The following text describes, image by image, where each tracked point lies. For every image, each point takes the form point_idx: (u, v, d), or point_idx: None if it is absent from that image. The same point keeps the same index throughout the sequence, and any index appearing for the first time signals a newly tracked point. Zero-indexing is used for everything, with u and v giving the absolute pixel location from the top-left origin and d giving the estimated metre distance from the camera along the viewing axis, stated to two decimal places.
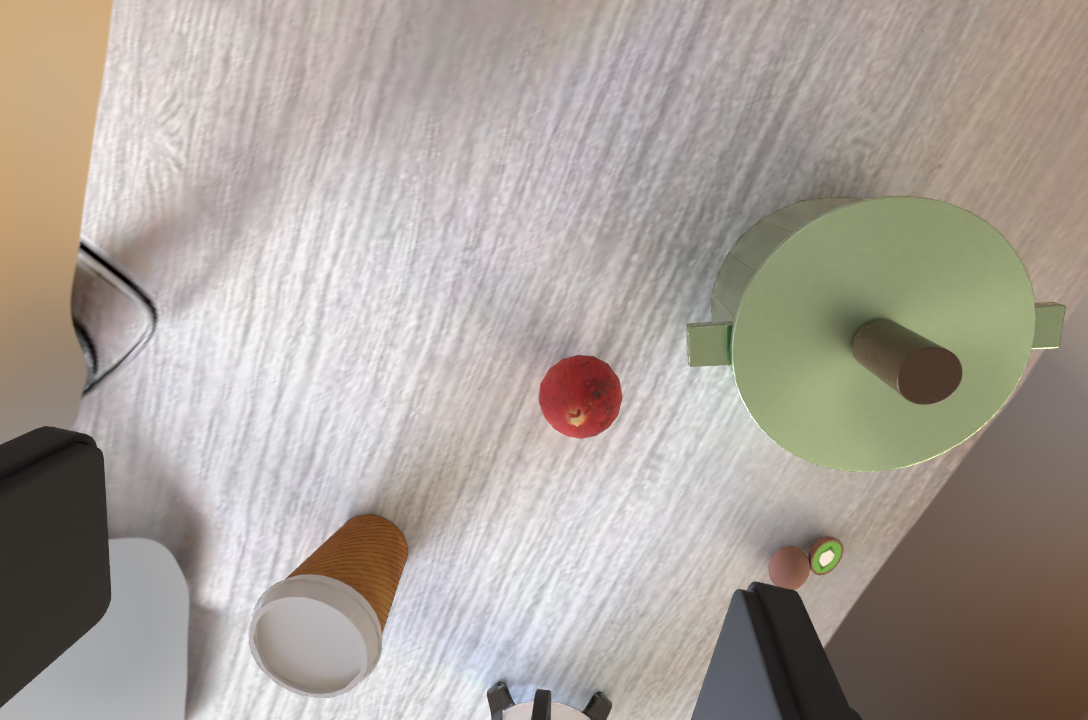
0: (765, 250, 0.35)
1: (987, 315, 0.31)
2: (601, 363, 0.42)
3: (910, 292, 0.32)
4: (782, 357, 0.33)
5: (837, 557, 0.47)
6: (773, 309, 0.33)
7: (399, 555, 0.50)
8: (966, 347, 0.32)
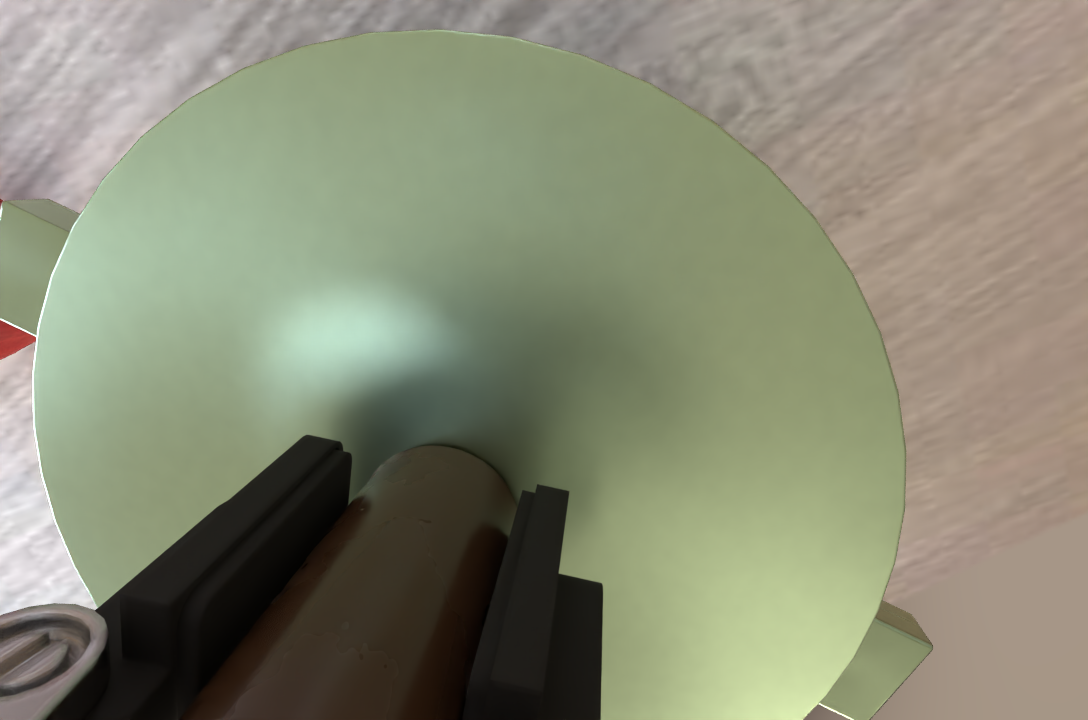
0: None
1: (743, 590, 0.10)
2: None
3: (580, 423, 0.10)
4: (175, 416, 0.11)
5: None
6: (184, 262, 0.10)
7: None
8: (652, 638, 0.11)
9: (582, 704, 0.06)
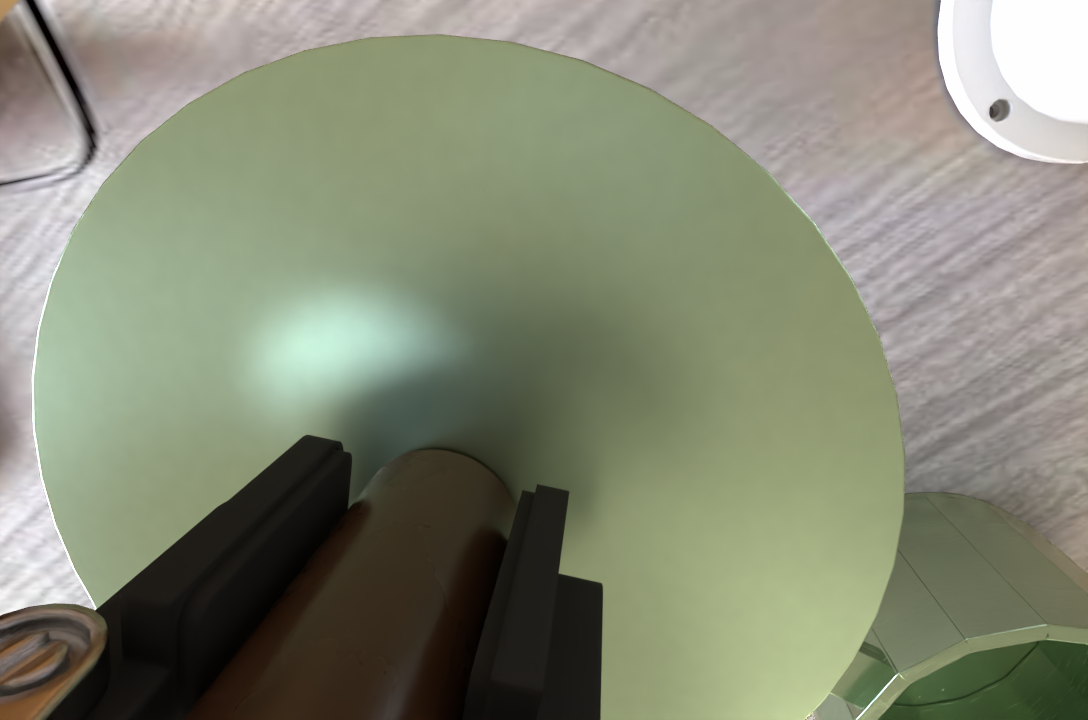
0: (962, 584, 0.25)
1: (742, 594, 0.10)
2: None
3: (579, 427, 0.10)
4: (175, 419, 0.11)
5: None
6: (184, 265, 0.10)
7: None
8: (652, 641, 0.11)
9: (582, 704, 0.06)
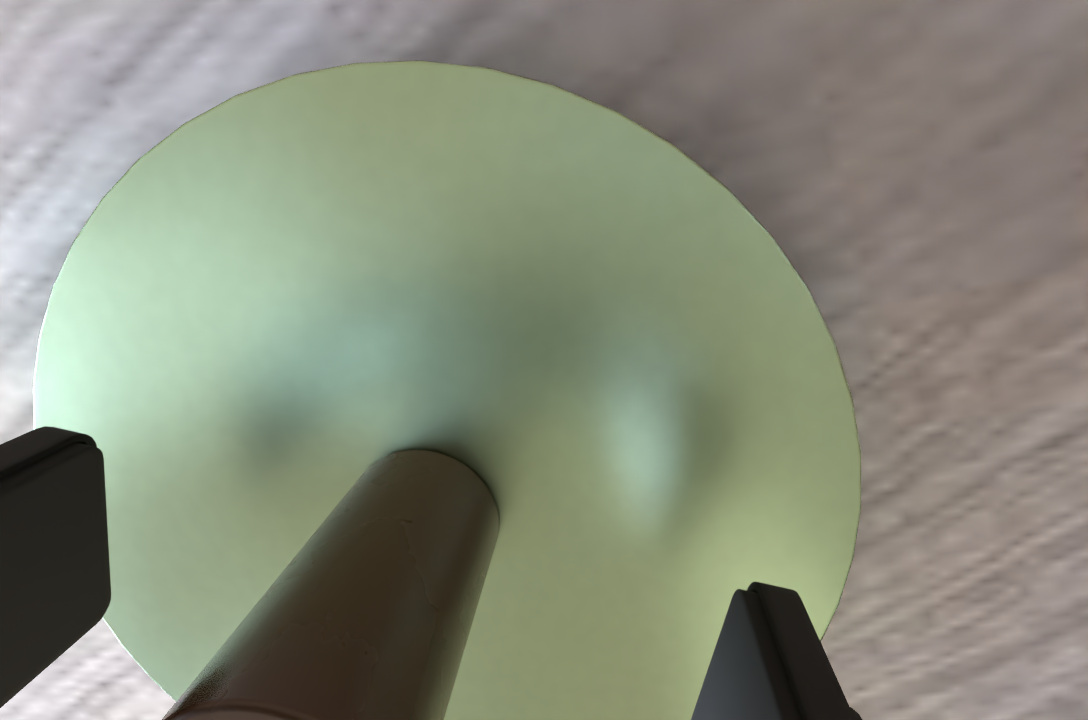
0: None
1: (711, 586, 0.11)
2: None
3: (555, 428, 0.10)
4: (170, 422, 0.11)
5: None
6: (179, 276, 0.10)
7: None
8: (626, 632, 0.11)
9: None
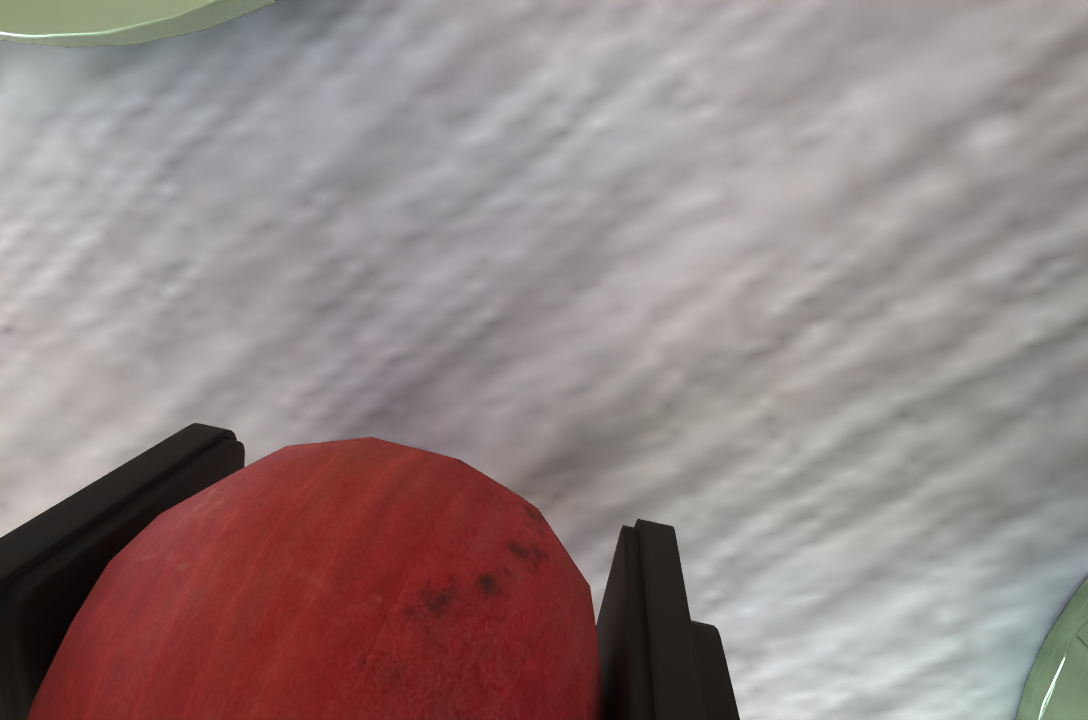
0: None
1: None
2: (566, 605, 0.06)
3: None
4: None
5: None
6: None
7: None
8: None
9: None
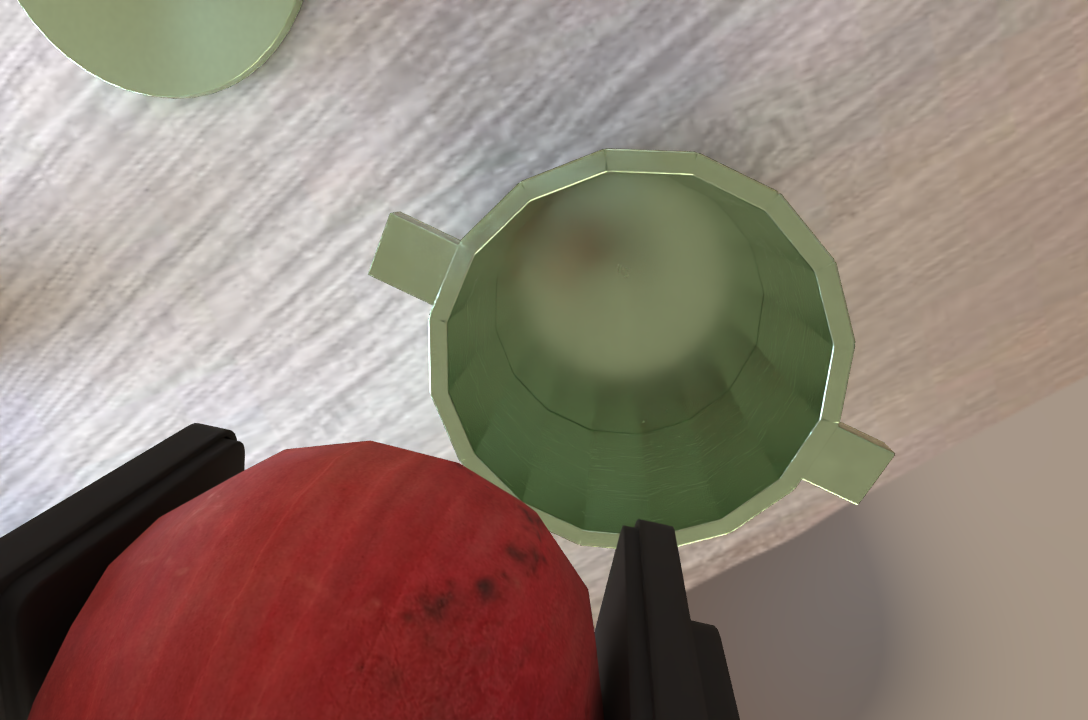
0: None
1: None
2: (564, 609, 0.06)
3: None
4: None
5: None
6: None
7: None
8: None
9: None
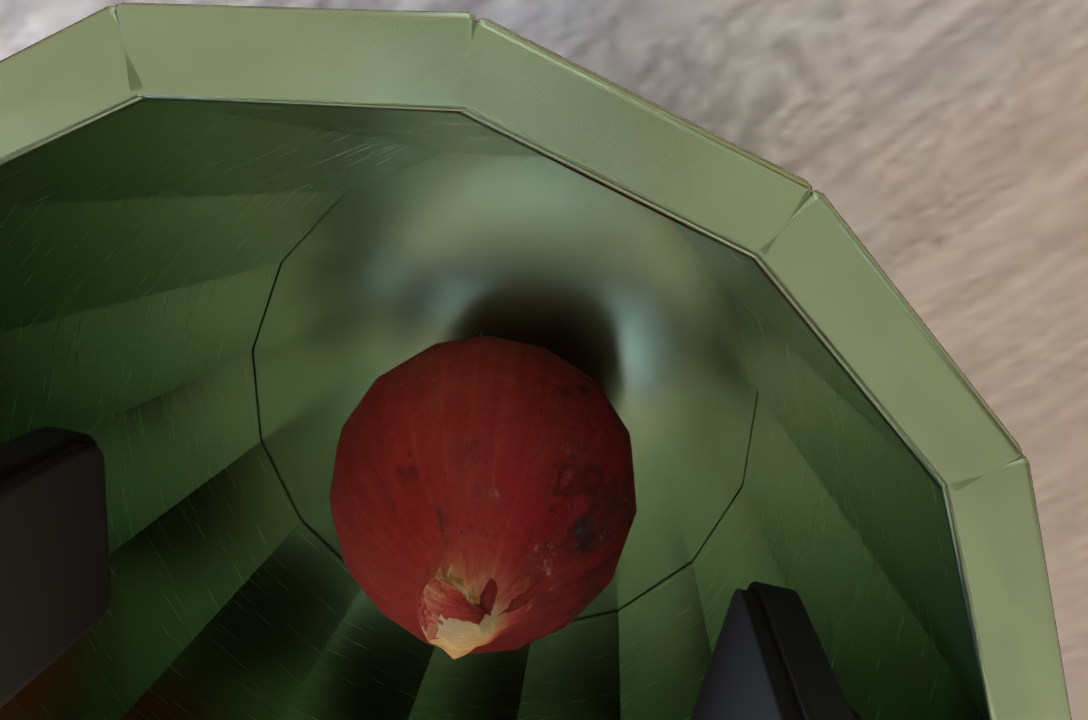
0: None
1: None
2: (615, 413, 0.12)
3: None
4: None
5: None
6: None
7: None
8: None
9: None
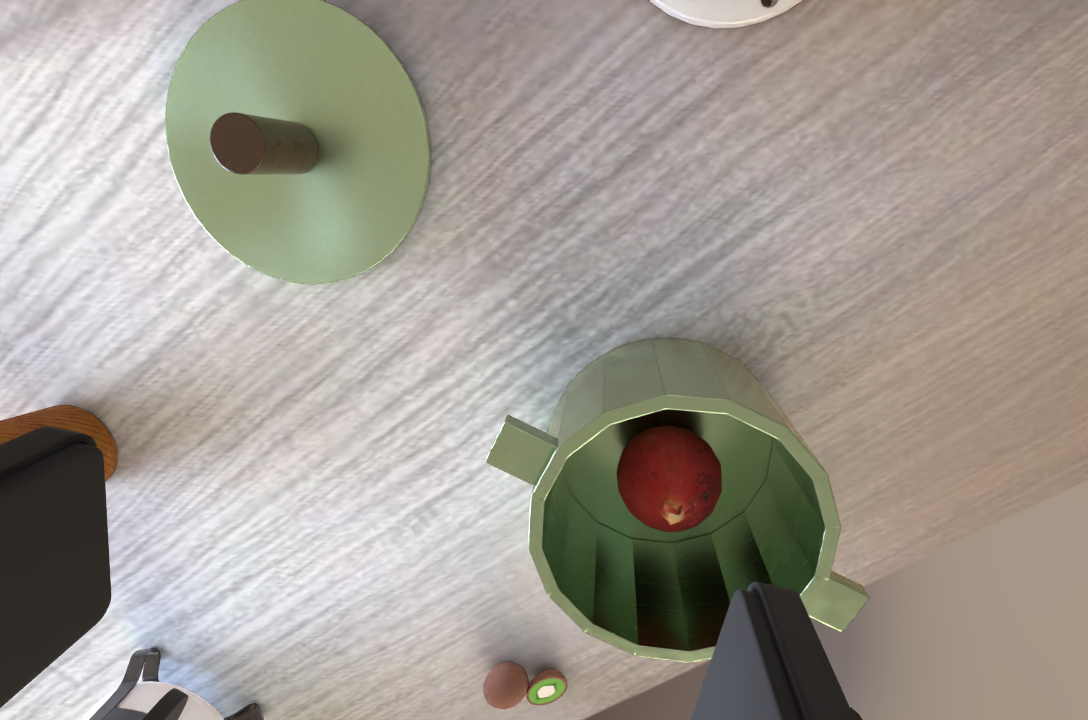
0: (629, 383, 0.30)
1: (387, 169, 0.34)
2: (715, 456, 0.33)
3: (332, 112, 0.33)
4: (211, 116, 0.34)
5: (557, 694, 0.44)
6: (214, 63, 0.33)
7: None
8: (363, 190, 0.34)
9: None
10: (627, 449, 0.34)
